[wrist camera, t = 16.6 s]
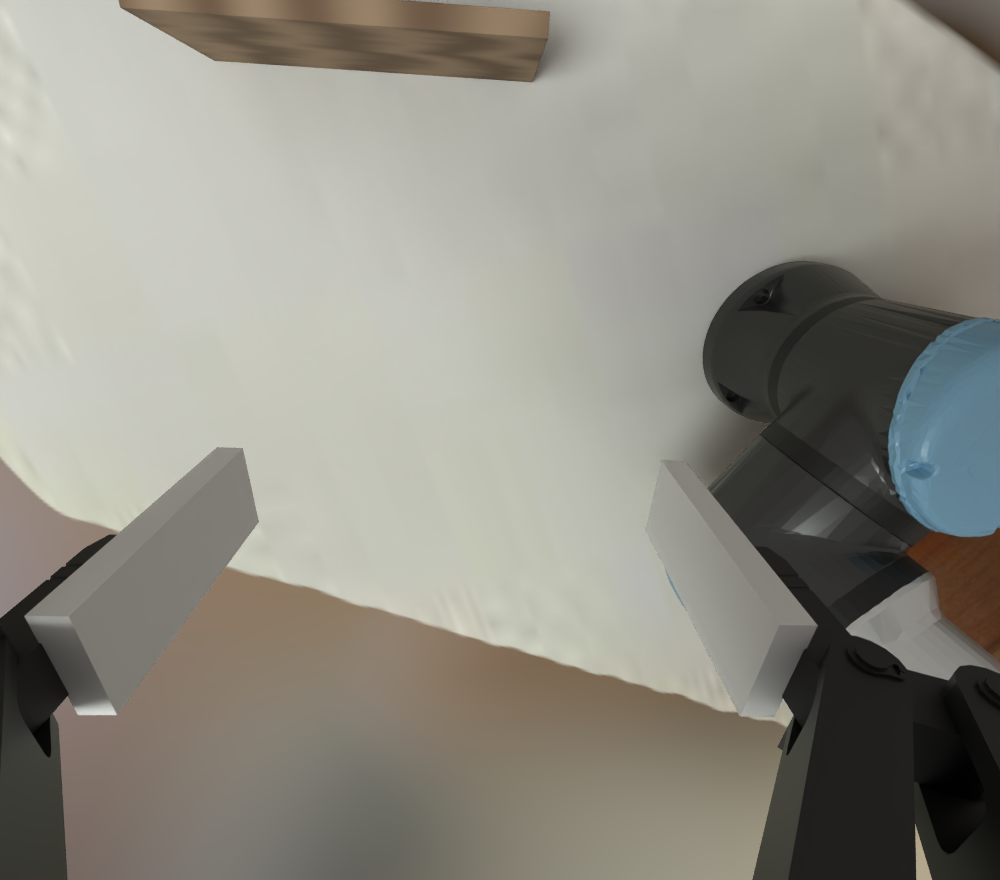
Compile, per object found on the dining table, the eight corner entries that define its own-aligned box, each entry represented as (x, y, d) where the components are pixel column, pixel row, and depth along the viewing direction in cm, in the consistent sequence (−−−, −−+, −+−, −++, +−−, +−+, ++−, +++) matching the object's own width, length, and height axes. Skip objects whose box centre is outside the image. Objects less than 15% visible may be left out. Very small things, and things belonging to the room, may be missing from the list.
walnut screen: (533, 62, 35) (549, 11, 26) (532, 82, 36) (548, 38, 27) (210, 40, 34) (113, -22, 25) (214, 60, 35) (120, 7, 26)
